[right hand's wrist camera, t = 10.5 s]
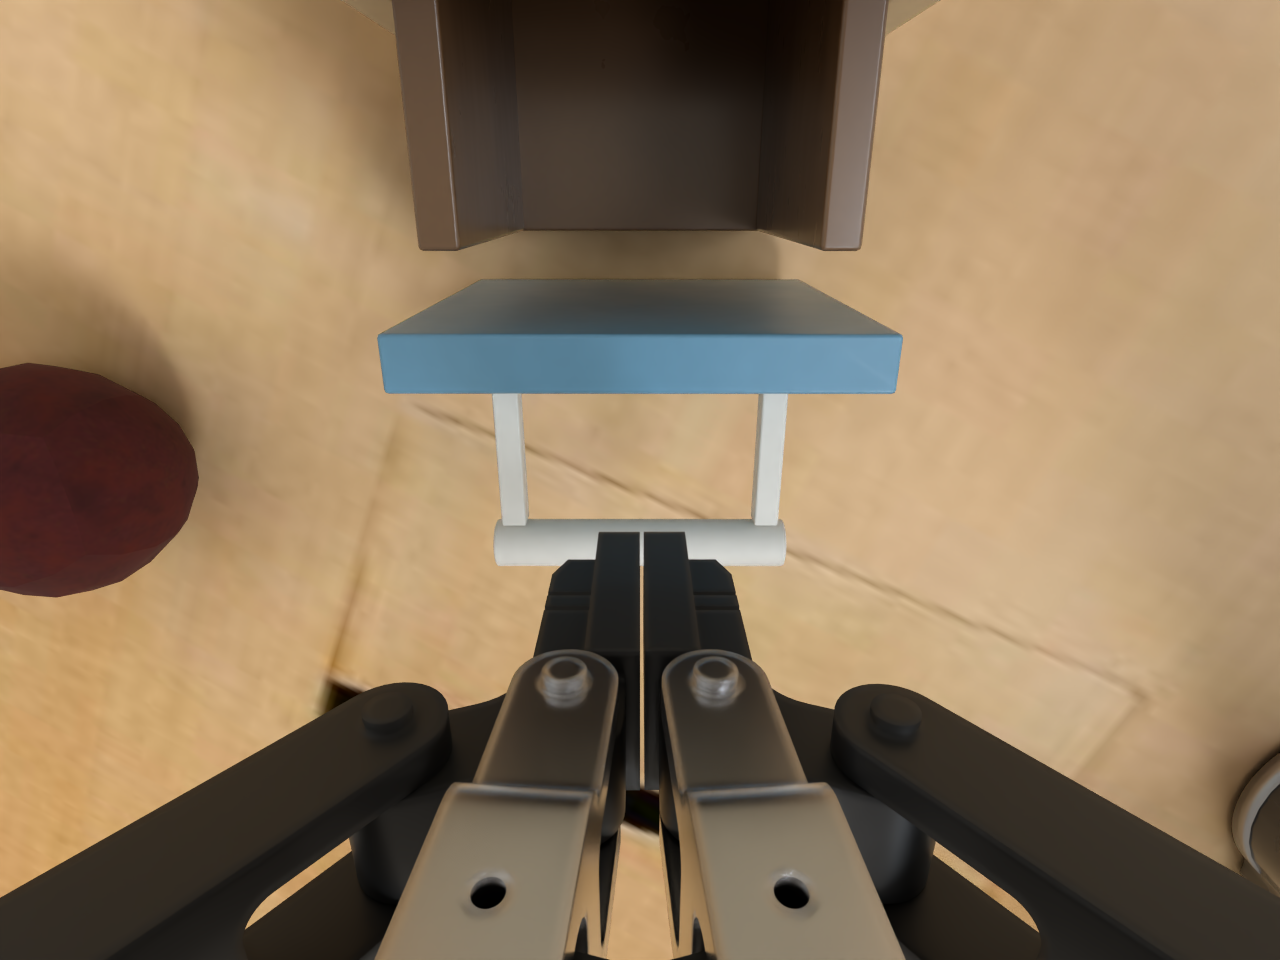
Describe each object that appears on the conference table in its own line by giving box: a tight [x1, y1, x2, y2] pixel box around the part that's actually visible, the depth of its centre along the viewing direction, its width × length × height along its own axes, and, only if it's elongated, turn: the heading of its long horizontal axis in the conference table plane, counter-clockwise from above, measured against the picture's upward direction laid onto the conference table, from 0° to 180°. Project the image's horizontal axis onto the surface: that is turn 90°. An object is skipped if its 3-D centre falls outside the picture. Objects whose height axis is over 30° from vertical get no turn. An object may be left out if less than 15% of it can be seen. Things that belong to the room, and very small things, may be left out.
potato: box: [0, 363, 199, 597], centre depth 22 cm, size 7×8×7 cm
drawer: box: [377, 0, 903, 566], centre depth 17 cm, size 19×10×10 cm, turn 0°
